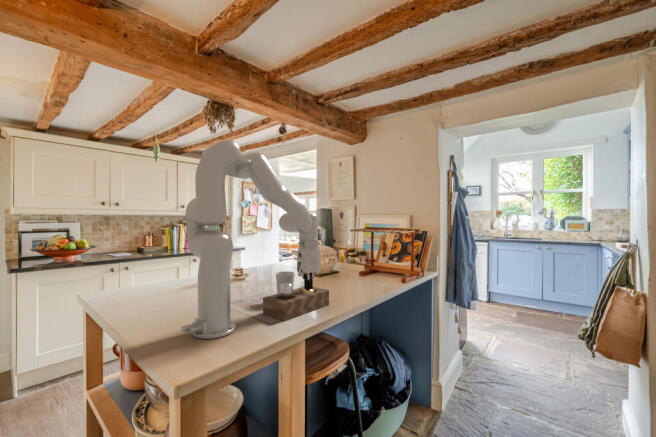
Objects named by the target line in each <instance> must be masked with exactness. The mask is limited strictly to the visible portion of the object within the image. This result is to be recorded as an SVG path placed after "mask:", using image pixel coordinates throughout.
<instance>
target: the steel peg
mask: <svg viewBox="0 0 656 437" xmlns="http://www.w3.org/2000/svg"><path fill="white" fill-rule="evenodd" d="M280 299H283V300H288V299H292V283H290V282H284V283H280Z"/></svg>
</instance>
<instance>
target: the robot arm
mask: <svg viewBox="0 0 656 437" xmlns="http://www.w3.org/2000/svg"><path fill="white" fill-rule="evenodd" d="M241 151H242V150H241V147H240V145H239V144H238V143H237V142H236V141H234V140H232V139H222V140H220V141H218V142H216V143H214V144H212V145H209V146H207V147H205V149H204V150H203V151H202V153H201V158H200V159H199V162H198V164H197V166H196V169H195V177H194V179H195V180H194V181H195V182H194V183H195V184H194V185H195V197H194V198H193V199H191V200H190V201H189V202H188V204H187V206H186V209H185V213H184V214H185V226H186V227H185V230H186V239H187V246H188V249H189V251H190V253H191V254H192V255H193V256H195V257H197V258H199V264H198V268H197V269H198V270H197V318H194V321H193V322H192V323H191V324H186V325H182V326H181V327H180V331H181V333H182V334H184V333H188V332H189V333H190V334H191V335H192V336H193V337H194V338H198V339H202V340H203V339H204V340H205V339H207V340H208V339H210V340H211V339H217V338H222V337H226V336H228V335H230V334H232V333H234V332H235V330H236V328H237V327H236V326H237V325H236V323H235V322H233V321H231V266H232V259H233V251H234V244H233V241H232V238H231V237H230V236H229V235H228V234H227V233H226V232H224V231H222V230H219V229H218V230H217V229H216V228H217V227H216V226H218V225H220V224H222V223H224V221H225V220H226V218H227V216H228V215H227V211H228V210H227V199H226V188H225V187H226V177H227V176H229V177H232V178H238V179H242V180H247V179H248V180H249V179H250V180H251V181H252V183H253V184H254V186H255V187H256V189H257V190H258V192H259V193H260V195H261V196H262V198H263V199H264V200H265V201H267V202H269V203H270V204H272V205H275V206H277V207H279V208H281V209H282V210H284V212H286V213H283V214H282V215H281V216H280V218H279V219H278V226H279V228H280V229H281V230H283V231H284V232H288V233H298V243H297V244H298V249H297V254H296V271H297V276H298V277H302V280H304V282H303V284H304V286H303V287H304V289H307V290H312V289H313V287H314V285H313V284H314V283H313V282H314V279H315V275H316V274H318V273H319V271H321V269H322V261H321V258H322V257H321V250H320V247H319V244H318V243H319V242H318V241H319V237H318V236H319V232H318V231H319V229H318V228H319V227H318V226H319V224H318V222H319V221H318V220H319V219H318V218H319V217H318V215H317V214H316V213H312V212H311V213H310V212H309V210H308V208H307V207H306V205H305V204H304V203H303V201H302V200H301V199H300V198H299V197H298V196H296V194H294V193H293V192H292V191H291V190H289V189H288V188H286V187H285V186H284V184H283V183H282V181H281V180H280V177H279V176H278V175H277V173H276V171H275V170H274V168H273V167H272V165H271V163H270V162H269V160H268V158H267V157H266V156H265V155H264V154H262V153H261V152H250V153H247V154H244V155H243V154H242V152H241Z"/></svg>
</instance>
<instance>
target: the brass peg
mask: <svg viewBox="0 0 656 437" xmlns="http://www.w3.org/2000/svg"><path fill="white" fill-rule="evenodd" d="M303 292H304V293H308V294H309V293H312V292H314V289H312V290H307V289H303Z"/></svg>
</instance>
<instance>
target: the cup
mask: <svg viewBox="0 0 656 437" xmlns="http://www.w3.org/2000/svg"><path fill="white" fill-rule="evenodd" d="M295 276H296V275H295V272H294V271H288V270H287V271H278V272H275V281H276V294H278V293H280V283H284V282H290V283H292V290H294V283H295Z"/></svg>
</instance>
